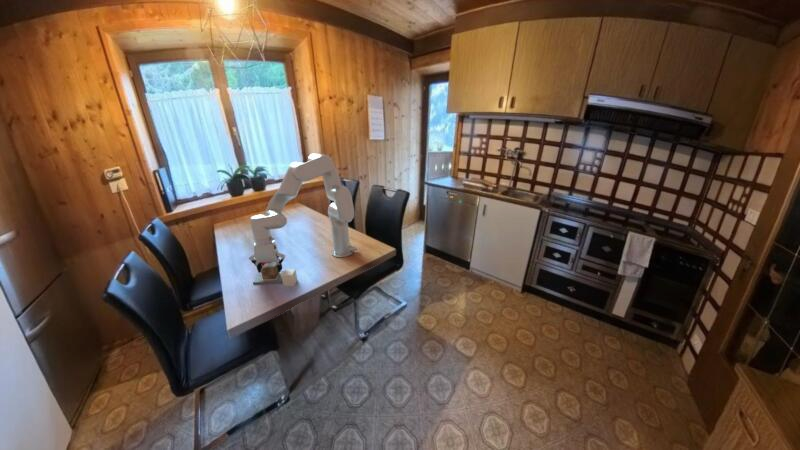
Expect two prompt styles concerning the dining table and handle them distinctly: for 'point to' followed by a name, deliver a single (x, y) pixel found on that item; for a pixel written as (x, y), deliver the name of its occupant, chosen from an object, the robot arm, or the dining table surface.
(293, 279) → the cream block
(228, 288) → the dining table surface
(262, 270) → the walnut block
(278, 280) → the pad
